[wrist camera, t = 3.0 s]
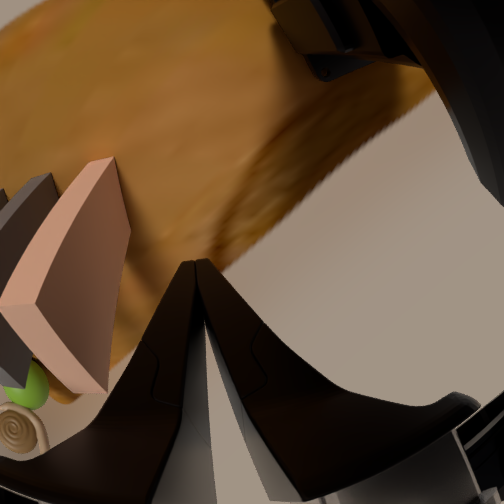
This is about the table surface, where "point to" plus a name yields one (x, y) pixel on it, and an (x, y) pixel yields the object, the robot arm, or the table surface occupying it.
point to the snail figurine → (25, 414)
